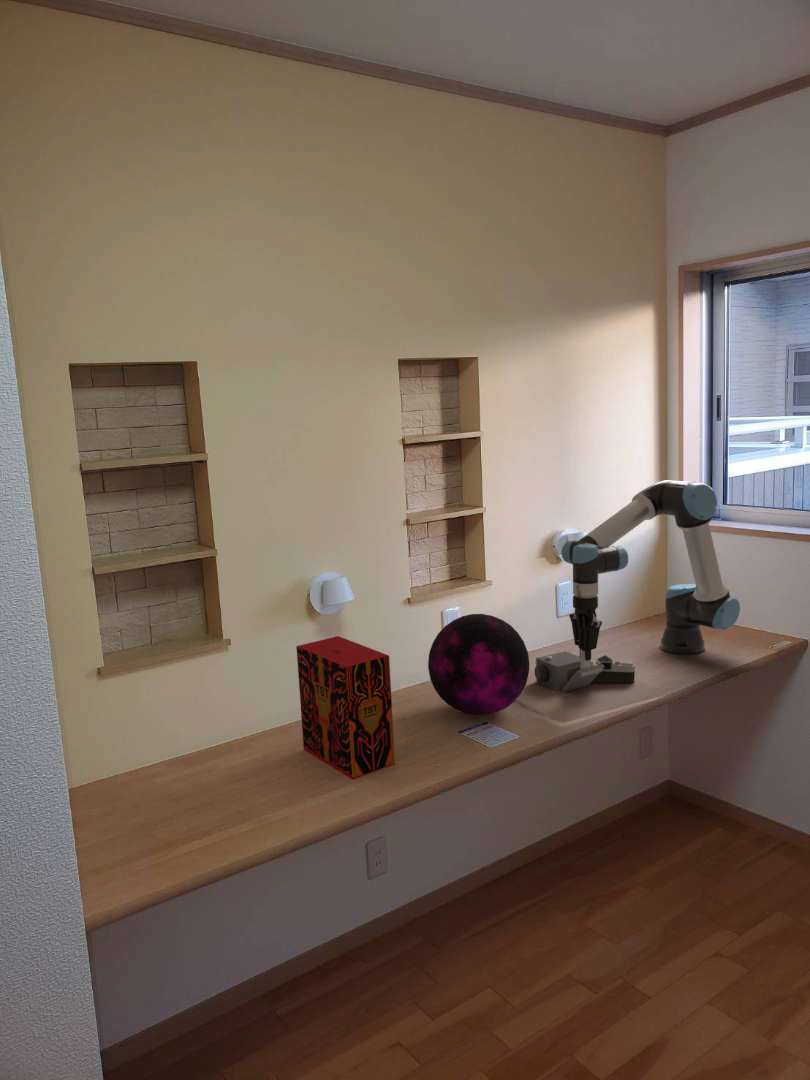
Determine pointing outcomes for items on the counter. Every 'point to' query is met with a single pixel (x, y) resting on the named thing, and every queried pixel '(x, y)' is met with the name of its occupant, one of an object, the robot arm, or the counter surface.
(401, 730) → the counter surface
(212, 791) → the counter surface
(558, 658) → the box
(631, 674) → the camera
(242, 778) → the counter surface
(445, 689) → the purple mottled sphere
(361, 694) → the box
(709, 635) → the counter surface
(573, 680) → the side door
